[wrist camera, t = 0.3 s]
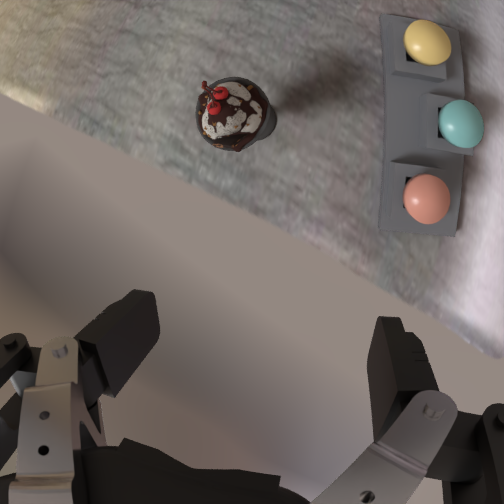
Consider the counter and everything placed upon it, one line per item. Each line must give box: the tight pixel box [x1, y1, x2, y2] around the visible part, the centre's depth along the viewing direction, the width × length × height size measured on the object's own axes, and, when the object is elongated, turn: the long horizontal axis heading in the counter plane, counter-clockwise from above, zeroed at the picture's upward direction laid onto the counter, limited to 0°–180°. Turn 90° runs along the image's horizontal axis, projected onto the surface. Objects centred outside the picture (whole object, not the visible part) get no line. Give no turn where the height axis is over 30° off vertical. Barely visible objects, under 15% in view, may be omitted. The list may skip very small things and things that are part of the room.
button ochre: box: [403, 20, 451, 66], centre depth 23 cm, size 5×5×4 cm
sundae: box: [196, 77, 276, 152], centre depth 27 cm, size 7×7×15 cm
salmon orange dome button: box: [403, 173, 450, 224], centre depth 28 cm, size 5×5×4 cm
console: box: [378, 13, 474, 237], centre depth 28 cm, size 26×10×4 cm, turn 0°
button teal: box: [438, 100, 484, 148], centre depth 25 cm, size 5×5×4 cm
